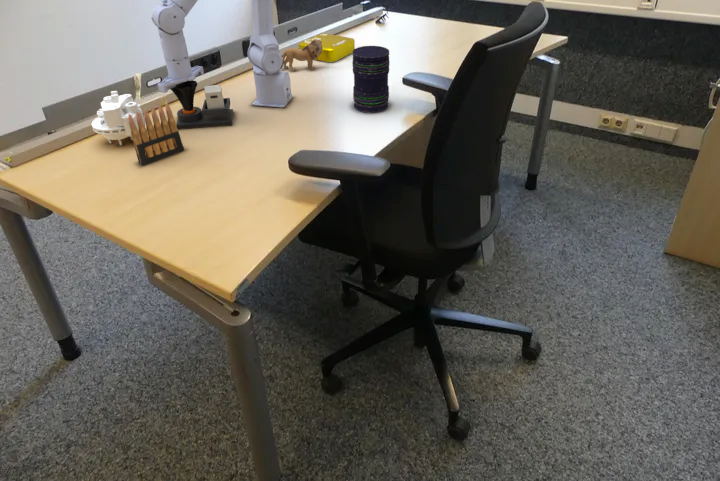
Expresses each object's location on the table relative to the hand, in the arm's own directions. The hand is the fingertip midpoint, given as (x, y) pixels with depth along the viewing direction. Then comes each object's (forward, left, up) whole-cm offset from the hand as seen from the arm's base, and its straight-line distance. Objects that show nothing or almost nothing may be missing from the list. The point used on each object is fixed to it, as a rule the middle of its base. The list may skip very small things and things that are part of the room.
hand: (188, 109), depth 135 cm
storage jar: (-45, -19, -4) cm, 49 cm away
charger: (-7, -2, 0) cm, 7 cm away
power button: (0, 0, -2) cm, 2 cm away
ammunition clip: (-2, +19, -4) cm, 20 cm away
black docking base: (-4, -1, -3) cm, 5 cm away
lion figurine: (-17, -45, -4) cm, 48 cm away
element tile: (-21, -61, -4) cm, 64 cm away
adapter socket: (-7, -3, 0) cm, 7 cm away
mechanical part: (+12, +13, -4) cm, 18 cm away
